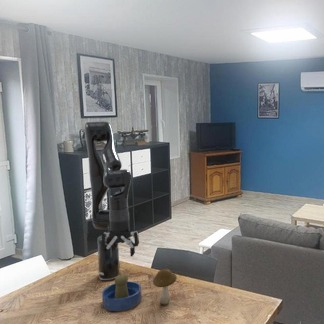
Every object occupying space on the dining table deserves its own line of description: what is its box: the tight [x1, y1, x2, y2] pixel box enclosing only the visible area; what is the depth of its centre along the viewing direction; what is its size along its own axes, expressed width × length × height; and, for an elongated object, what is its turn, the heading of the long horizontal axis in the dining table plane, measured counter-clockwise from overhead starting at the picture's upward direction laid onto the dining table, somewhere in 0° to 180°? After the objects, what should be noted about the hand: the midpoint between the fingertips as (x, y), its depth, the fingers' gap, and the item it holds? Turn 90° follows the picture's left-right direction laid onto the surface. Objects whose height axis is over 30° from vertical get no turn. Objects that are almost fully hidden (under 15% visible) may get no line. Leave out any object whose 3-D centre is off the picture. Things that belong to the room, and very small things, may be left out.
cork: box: [113, 274, 129, 299], centre depth 141 cm, size 6×6×11 cm
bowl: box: [101, 280, 143, 312], centre depth 142 cm, size 15×15×6 cm
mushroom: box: [152, 268, 178, 306], centre depth 141 cm, size 9×11×15 cm
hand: (121, 256), depth 140 cm, fingers open, 8 cm apart
